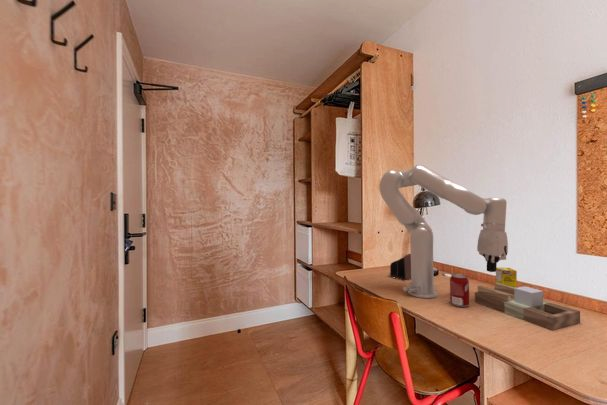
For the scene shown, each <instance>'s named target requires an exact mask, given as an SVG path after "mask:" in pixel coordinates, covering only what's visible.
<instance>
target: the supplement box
mask: <svg viewBox="0 0 607 405" xmlns="http://www.w3.org/2000/svg"><path fill="white" fill-rule="evenodd" d="M517 273H518V272H517V270H516V269H513V268H511V267H500V266H499V267H498V266H496V272H495V283H500V284H503V285H507V286H511V287H514V288H518V284H517V282H518V281H517V280H518V279H517Z"/></svg>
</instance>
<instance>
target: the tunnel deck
mask: <svg viewBox="0 0 607 405" xmlns="http://www.w3.org/2000/svg"><path fill="white" fill-rule="evenodd" d="M493 286H494V288H491V287H487V286H483V285H477V291H475V292H474V302H475V303H477V304H479V305H482V306H485V307H487V308H490V309H493V310H496V311H498V312H502V313H504V314H506V315H509V316H513V317H515V318H517V319H520V320H524V321H525V322H528V323H531V324H534V325H536V326H540V327H542V328H546V329H547V330H551V331H555V330H558V329H562V328H563V329H564V328H566V327H570V326H573V325H577V324H580V323H581V311H580V310H579V309H578V310H577V309H574V308H570V307H567V306H565V305H560V304H556V303H555V302H554V303H553V302H549V301H545V300H543V305H540V306H535V307H531V306H527V305H524V304H521V303H518V302H515V301H514V287H511V286H507V285H503V284H500V283H496V282H495V283H494V284H493Z"/></svg>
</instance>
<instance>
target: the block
mask: <svg viewBox="0 0 607 405" xmlns="http://www.w3.org/2000/svg"><path fill="white" fill-rule="evenodd" d="M514 301H515V302H518V303H521V304H524V305H527V306H531V307H535V306H540V305H543V301H544V290H540V289H538V288H537V289H536V288H533V287H531V286H530V287H529V286H526V285H525V286H519V287H518V286H517V288H514Z"/></svg>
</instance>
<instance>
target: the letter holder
mask: <svg viewBox="0 0 607 405" xmlns="http://www.w3.org/2000/svg"><path fill="white" fill-rule="evenodd" d="M389 269H390V270H389V271H390V272H389V274H390V276H391V277H390V276H389V277H390V278H392V277H395V278H394V279H396V278H398V279H397V280H400V279H401V281H404V280H407V281H409V279H410V280H411V253H407V254H406V255H404V256H403V257H401V258H399V259H398V260H394V261H393V262H391V263H390V268H389Z"/></svg>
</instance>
